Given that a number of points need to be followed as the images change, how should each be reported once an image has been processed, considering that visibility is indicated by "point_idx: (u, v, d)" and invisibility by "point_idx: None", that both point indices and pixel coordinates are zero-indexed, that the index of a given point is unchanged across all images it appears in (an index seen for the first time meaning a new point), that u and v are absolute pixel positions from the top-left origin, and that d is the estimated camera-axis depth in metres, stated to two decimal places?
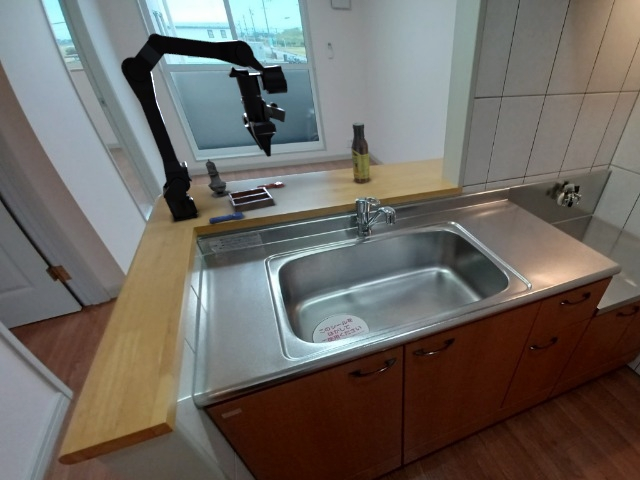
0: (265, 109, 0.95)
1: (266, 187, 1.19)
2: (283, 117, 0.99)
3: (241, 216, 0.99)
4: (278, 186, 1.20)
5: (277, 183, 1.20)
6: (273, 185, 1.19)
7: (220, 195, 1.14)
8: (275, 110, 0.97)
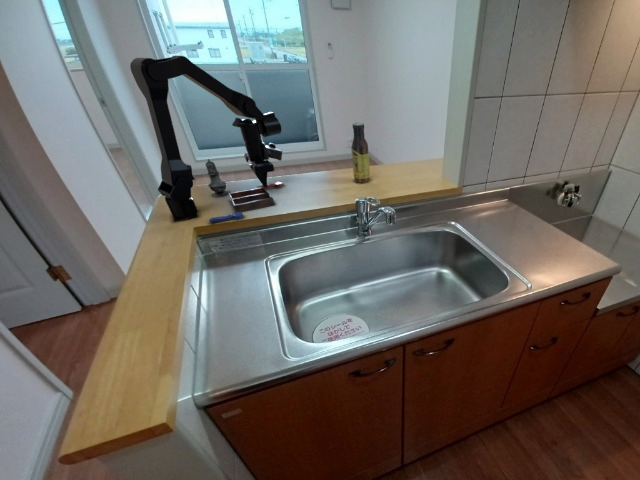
0: (264, 150, 1.10)
1: (266, 187, 1.19)
2: (280, 156, 1.14)
3: (241, 216, 0.99)
4: (278, 186, 1.20)
5: (277, 183, 1.20)
6: (273, 185, 1.19)
7: (220, 195, 1.14)
8: (273, 151, 1.12)
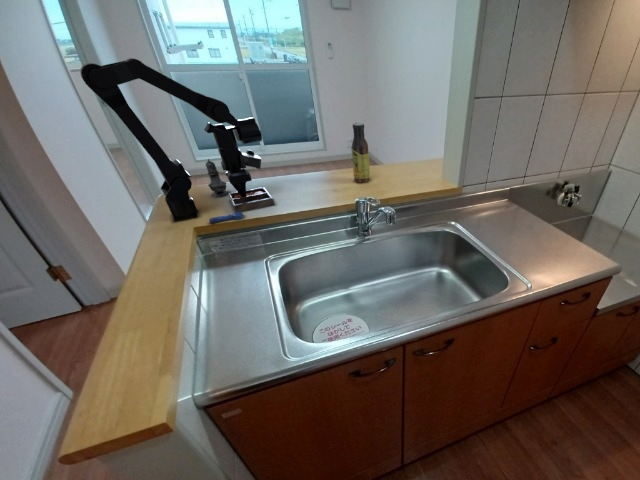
0: (241, 158, 1.01)
1: None
2: (259, 164, 1.05)
3: (241, 216, 0.99)
4: None
5: (257, 192, 1.11)
6: None
7: (220, 195, 1.14)
8: (251, 159, 1.03)
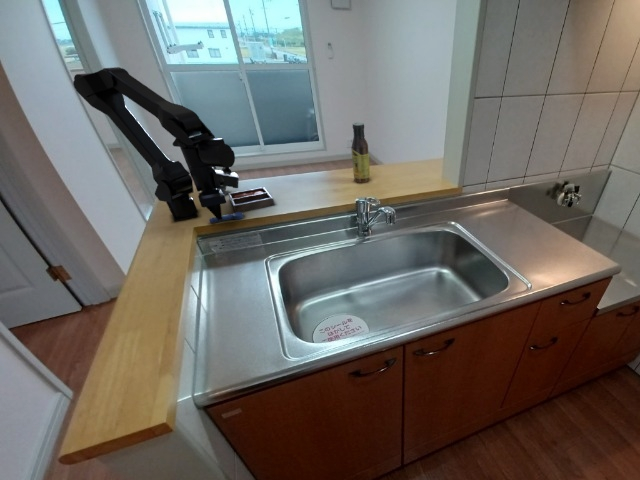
0: (215, 177, 0.89)
1: None
2: (236, 183, 0.93)
3: (241, 216, 0.99)
4: None
5: (257, 192, 1.11)
6: None
7: None
8: (226, 177, 0.91)
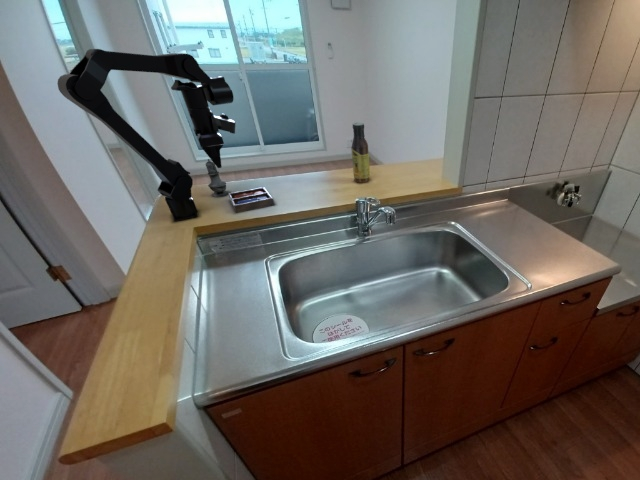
0: (213, 120, 0.95)
1: None
2: (233, 128, 0.99)
3: None
4: None
5: (257, 192, 1.11)
6: None
7: (220, 195, 1.14)
8: (224, 122, 0.97)
